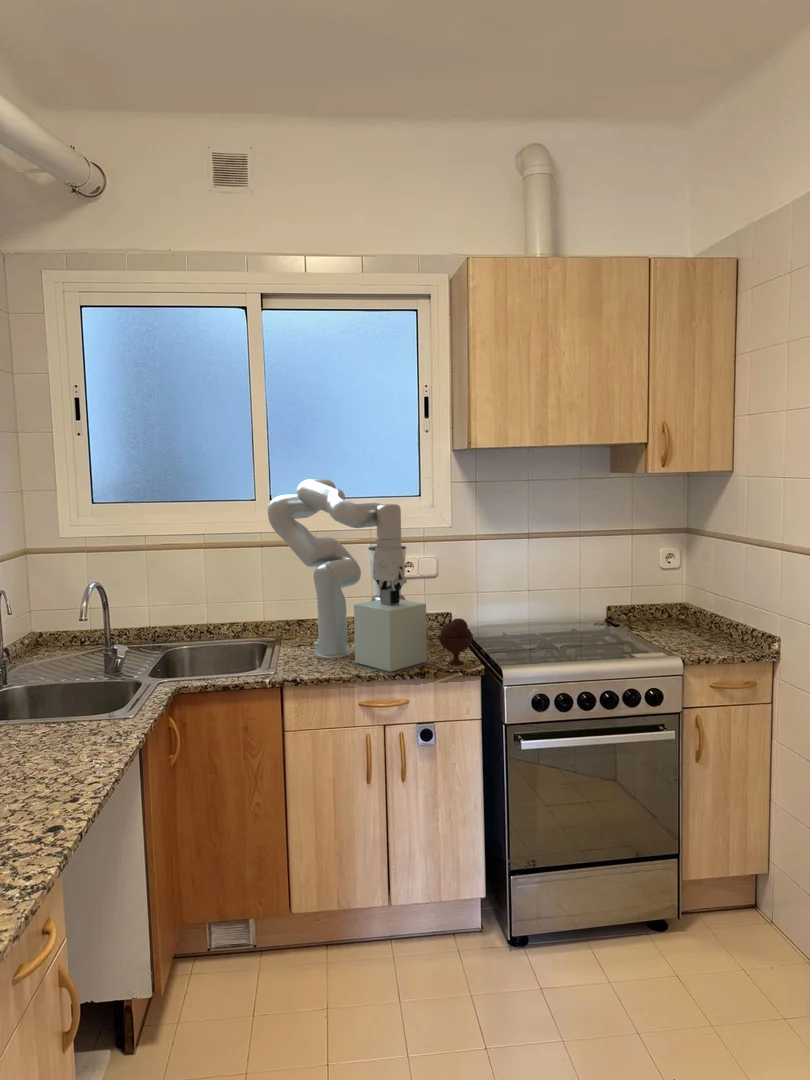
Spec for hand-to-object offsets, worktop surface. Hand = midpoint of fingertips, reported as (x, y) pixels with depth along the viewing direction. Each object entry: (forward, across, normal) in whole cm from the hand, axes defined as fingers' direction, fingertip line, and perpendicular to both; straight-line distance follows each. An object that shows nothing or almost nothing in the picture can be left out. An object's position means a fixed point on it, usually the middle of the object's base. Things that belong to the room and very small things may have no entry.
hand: (389, 601), depth 230 cm
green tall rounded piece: (+21, -23, +21) cm, 37 cm away
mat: (+20, 0, 0) cm, 20 cm away
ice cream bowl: (+20, +16, +13) cm, 29 cm away
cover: (+19, 0, 0) cm, 19 cm away
